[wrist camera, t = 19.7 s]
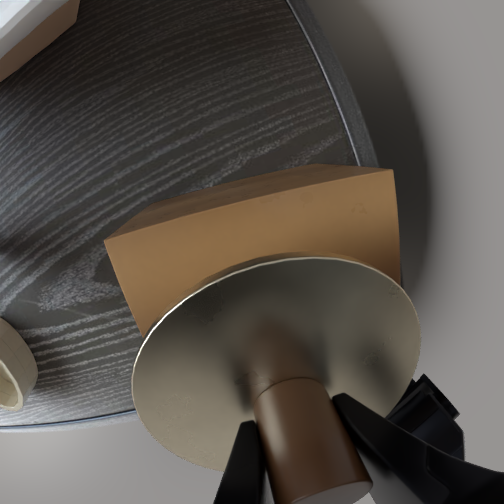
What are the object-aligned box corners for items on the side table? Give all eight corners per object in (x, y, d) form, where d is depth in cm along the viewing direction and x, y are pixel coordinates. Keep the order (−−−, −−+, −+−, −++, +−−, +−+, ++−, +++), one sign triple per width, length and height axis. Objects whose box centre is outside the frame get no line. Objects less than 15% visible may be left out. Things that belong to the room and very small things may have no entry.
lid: (398, 420, 11) (440, 482, 6) (196, 478, 10) (201, 556, 6) (418, 214, 7) (538, 262, 3) (79, 301, 7) (2, 414, 3)
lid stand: (335, 306, 22) (394, 377, 13) (198, 344, 21) (199, 437, 13) (314, 163, 18) (393, 169, 10) (150, 203, 18) (102, 240, 9)
